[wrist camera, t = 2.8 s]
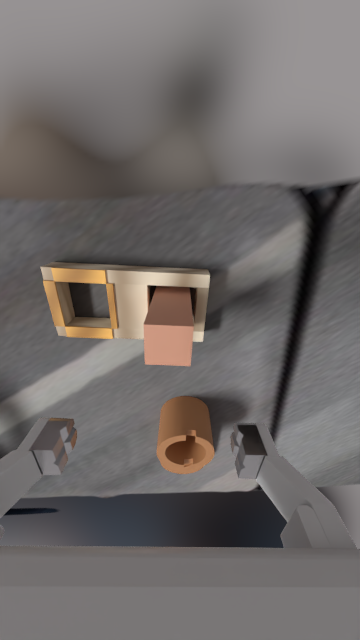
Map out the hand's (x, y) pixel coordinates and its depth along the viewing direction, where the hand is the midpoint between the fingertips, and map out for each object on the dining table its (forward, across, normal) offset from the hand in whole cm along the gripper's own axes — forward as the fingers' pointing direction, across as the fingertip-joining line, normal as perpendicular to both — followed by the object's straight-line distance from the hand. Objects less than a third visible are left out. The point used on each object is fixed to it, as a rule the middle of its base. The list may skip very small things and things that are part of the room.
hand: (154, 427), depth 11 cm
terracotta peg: (+18, 0, 0) cm, 18 cm away
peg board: (+18, +4, 0) cm, 18 cm away
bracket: (+18, -3, +25) cm, 32 cm away
